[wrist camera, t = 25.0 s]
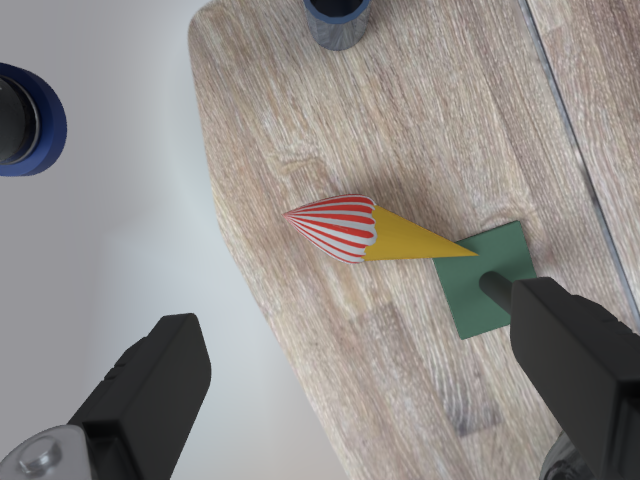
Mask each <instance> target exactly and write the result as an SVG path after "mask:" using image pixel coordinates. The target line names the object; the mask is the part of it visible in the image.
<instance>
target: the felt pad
mask: <svg viewBox="0 0 640 480" xmlns="http://www.w3.org/2000/svg"><path fill="white" fill-rule="evenodd" d="M454 243H455V244H457V245H459V246H461V247H464V248H466V249H468V250H470V251H472V252H474V253H476V254H478V255H479V256H458V257H436V258H433V261H434V264H435V267H436V270H437V273H438V276H439V279H440V281H441V284H442V287H443V290H444V293H445V296H446V299H447V302H448V304H449V307H450V310H451V313H452V316H453V319H454V322H455V325H456V328H457V330H458V333H459V336H460V338H461V340H463V339H466V338H469V337H472V336H476V335H479V334H482V333H485V332H488V331H491V330H494V329H497V328H500V327H503V326H506V325H509V324H510V320H511V316H510V315H509V314H508V313H507V312H506V311H505V310H503V309H502V308H501V307H500V306H499V305H498V304H496V303H495V302H494V301H493V300H492V299H491V298H489V297H488V296H487V295H486V294H485V293H484V292H483V291H481V289H480V287H479V280H480V278H481V276H482V275H483V274H484V273H486V272H490V271H494V272H497V273H499V274H500V275H502V276H503V277H505V278H506V279H508V280H509V281H511V282H512V283H514V281H515V280H520V279H530V278H537V276H536V273H535V270H534V267H533V263H532V260H531V257H530V254H529V250H528V247H527V244H526V241H525V237H524V234H523V231H522V228H521V224H520V221H517V220H516V221H514V222H511V223H508V224H505V225H502V226H499V227H497V228H494V229H491V230H488V231H485V232H483V233H480V234H477V235H474V236H471V237H469V238H466V239H463V240H460V241H457V242H454Z"/></svg>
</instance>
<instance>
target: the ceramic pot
mask: <svg viewBox="0 0 640 480" xmlns="http://www.w3.org/2000/svg"><path fill="white" fill-rule="evenodd" d="M539 480H597V479H596V478H595V476H594V475H593V473H592V472H591V470H590V469H589V467H588V466H587V464H586V463H585V461H584V460H583V458H582V457H581V455H580V454H579V452H578V451H577V449H576V448H575V446H574V445H573V443H572V442H571V440H570V439H569V437H568V436H567V434H566V433H565V431H564V430H563V431H562V432H561V434H560V436H559V437H558V440H557V441H556V442H555V444H554V445H553V446H552V448H551V449H550V451H549V453H548V454H547V456H546V458H545V460H544V463H543V465H542V469H541V473H540V477H539Z"/></svg>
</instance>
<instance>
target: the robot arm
mask: <svg viewBox="0 0 640 480" xmlns="http://www.w3.org/2000/svg"><path fill="white" fill-rule="evenodd" d="M41 135H42V118H41V113H40V110H39V107H38V105H37V103H36V101H35V99H34V98H33V96H32V95H31V93H30V92H29V91H28V90H27V89H26V88H25V87H24V86H23V85H22V84H20V83H19V82H17V81H16V80H14V79H12V78H10V77H7V76H3V75H0V165H12V164H16V163H19V162H22V161H24V160H25V159H27V158H28V157H29V156H30V155H31V154H32V153H33V152H34V151H35V149H36V148H37V146H38V144H39V142H40V139H41ZM510 341H511V346H512V350H513V353H514V356H515V358H516V360H517V362H518V363H519V365H520V366H521V368H522V369H523V371H524V372H525V373H526V375H527V376H528V378H529V379H530V381H531V382H532V384H533V385H534V387H535V388H536V390H537V391H538V393H539V394H540V396H541V397H542V399H543V400H544V402H545V403H546V405H547V406H548V408H549V409H550V411H551V412H552V414H553V415H554V417H555V418H556V420H557V421H558V423H559V424H560V425H561V427H562V428H563V430H564V431H565V433H566V434H567V436H568V437H569V439H570V440H571V442H572V443H573V445H574V446H575V448H576V449H577V451H578V452H579V454H580V455H581V457H582V458H583V460H584V461H585V463H586V464H587V466H588V467H589V469H590V470H591V472H592V473H593V475H594V476H595V478H596V479H597V480H640V336H638V335H637V334H636V333H632V330H631V329H630V328H629V327H627V326H626V325H625V324H624V323H622V322H621V321H619V322H618V319H617V318H616V317H615V316H614V315H612V314H611V313H610V312H609V311H607V310H606V309H605V308H604V307H603V306H601V305H600V304H597V303H595V302H593V301H591V300H588V299H586V298H584V297H582V296H579V295H571V294H570V293H569V292H567V291H566V290H565V289H564V288H563V287H562V286H560V285H559V284H558V283H557V282H556V281H555V280H554V279H552V278H551V277H539V278H530V279H520V280H515V281H514V283H513V285H512V293H511V320H510ZM210 381H211V363H210V359H209V355H208V352H207V349H206V345H205V342H204V338H203V335H202V331H201V328H200V324H199V321H198V318H197V316H196V315H195V314H194V313H186V314H177V315H167V316H163V317H162V318H161V319H160V320H159V321H158V323H157V324H156V325H155V327H154V328H153V329H152V331H151V332H150V333H149V334H148V336H147V337H143V338H142V339H140V340H139V341H138V342H137V343H135V344H134V345H132V346H131V347H130V348H128V349H127V350H126V351H125V352H124V354H123V355H122V356H121V357H120V359H119V360H118V361H117V362H116V364H115V365H114V368H112V369H111V370H110V371H109V372H108V373H107V375H106V376H105V377H104V381H101V382H100V383H99V385H98V386H97V387H96V388H95V389H94V391H93V392H92V393H91V394H90V396H89V397H88V398H87V399H86V401H85V402H84V403H83V404H82V406H81V407H80V408H79V409H78V410H77V412H76V413H75V414H74V416H73V417H72V418H71V419H70V420H69V422H68V423H67V424H66V425H60V426H56V427H53V428H49V429H47V430H44V431H42V432H40V433H38V434H36V435H34V436H32V437H30V438H29V439H27V440H25V441H24V442H23V443H21V444H20V445H18V446H17V447H16V448H15V449H13V450H12V451H11V452H10V453H9V454H8V455H7V456H6V457H5V458H4V459H3V460H2V461H1V463H0V480H170V478H171V475H172V473H173V470H174V468H175V466H176V464H177V461H178V459H179V457H180V454H181V452H182V450H183V447H184V445H185V442H186V440H187V438H188V435H189V433H190V431H191V428H192V426H193V424H194V421H195V419H196V417H197V414H198V412H199V409H200V407H201V405H202V403H203V400H204V398H205V396H206V393H207V391H208V389H209V386H210Z"/></svg>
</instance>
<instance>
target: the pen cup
mask: <svg viewBox="0 0 640 480" xmlns="http://www.w3.org/2000/svg"><path fill="white" fill-rule="evenodd" d="M302 2H303V7H304V11H305V15H306V20H307V24H308V26H309V30H310V32H311V35H312V36H313V38H314V39H315V41H316V42H317V43H318V44H319V45H321V46H322V47H324V48H326V49H329V50H333V51H341V50H345V49H348V48H350V47H352V46H354V45H355V44H356V43H357V42H358V41H359V40H360V39H361V38H362V36H363V34H364V32H365V30H366V27H367V24H368V20H369V14H370V9H371V3H372V0H302Z"/></svg>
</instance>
